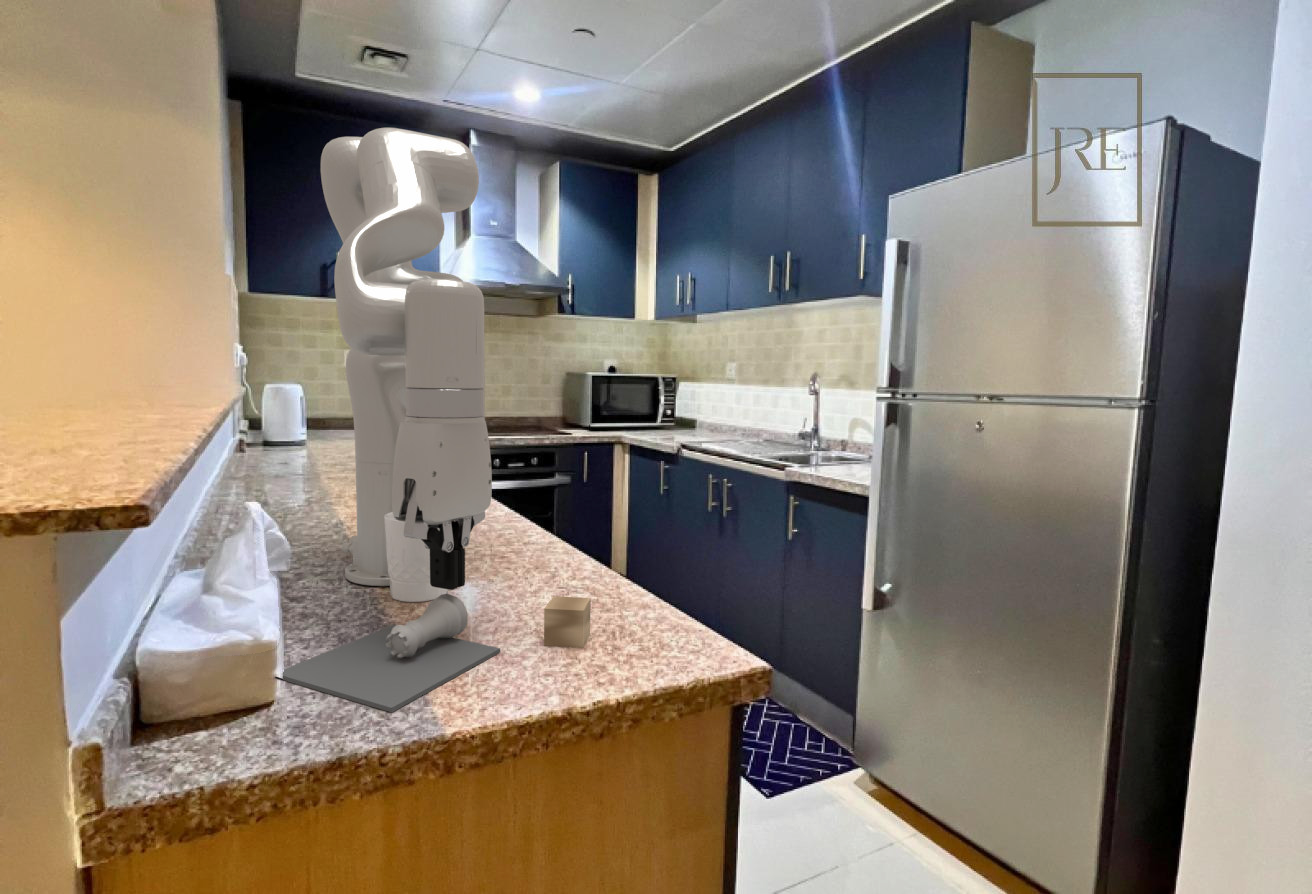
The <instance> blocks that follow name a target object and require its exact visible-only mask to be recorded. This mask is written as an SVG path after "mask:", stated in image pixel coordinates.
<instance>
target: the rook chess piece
mask: <svg viewBox="0 0 1312 894" xmlns="http://www.w3.org/2000/svg"><path fill="white" fill-rule="evenodd" d="M467 610H468V609H467V607H466V605H465V604H464V602H463V601H462V600H461V599H460V598H458V597H457V596H455V595H452V594H449V593H447V594H442V595H440V596H439V597H437V598H435V599H434V600H430V601H429V603H428V605H427V607H426V609H425V610H424V612H423V614H421V616H419V617H418V618H416V619H415V620H409V621H406V623H405V624H404V625H403V624H396V626H395V627H394V628H393V629H392V631H391V633H390V634H389V635H388V636H387V638H386V640H388V641H389V642H388V643H387V644H386V647H387V649H388V648H390V647H391V648H392V650H393V651H392V652H391V653H390V654H391V655H392V656H393V657H394V656H396V655H397V657H398V658H402V657H405V658H407V657H412V656H413V655H414V654H415V652H416V650H417V648H422V647H423V646H424V645H425V643H426V642H428V641H431V640H433V639H436V638H452V637H453V638H455V636H458V635H460V634H461V633H463V632H465V629H466V628H467V626H468V618H469V614H468V611H467Z"/></svg>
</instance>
